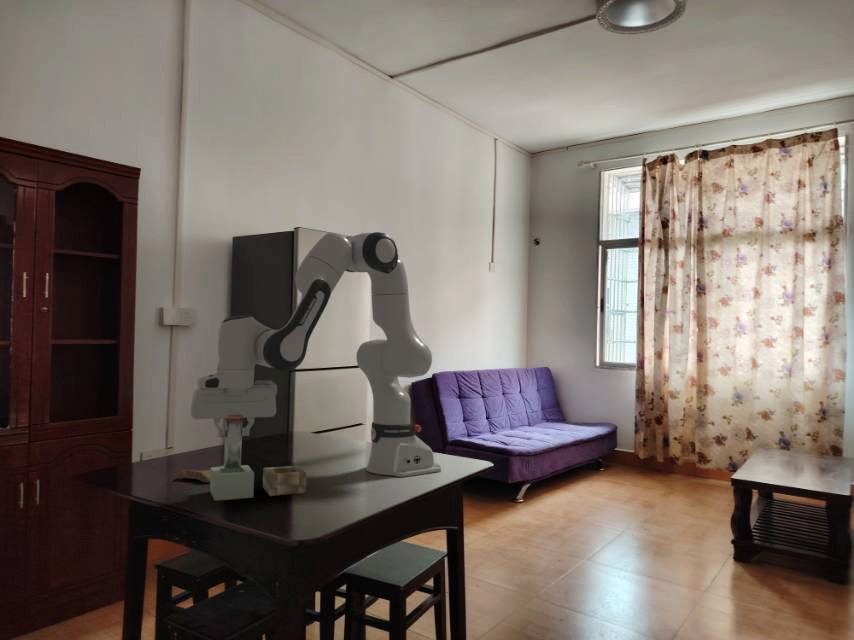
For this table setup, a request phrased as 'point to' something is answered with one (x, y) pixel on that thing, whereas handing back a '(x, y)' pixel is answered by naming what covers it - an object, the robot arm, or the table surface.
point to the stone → (197, 475)
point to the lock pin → (233, 441)
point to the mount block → (284, 480)
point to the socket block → (232, 483)
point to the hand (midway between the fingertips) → (233, 436)
